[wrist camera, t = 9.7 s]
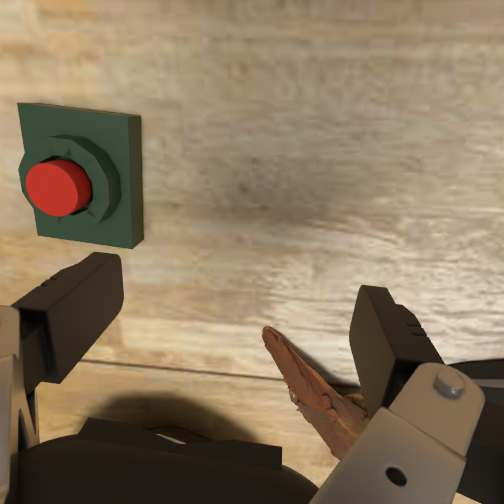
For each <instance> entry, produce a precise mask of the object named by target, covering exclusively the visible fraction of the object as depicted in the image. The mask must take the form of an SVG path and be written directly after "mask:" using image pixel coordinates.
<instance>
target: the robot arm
mask: <svg viewBox="0 0 504 504" xmlns="http://www.w3.org/2000/svg"><path fill="white" fill-rule="evenodd" d="M123 300H124V291H123V277H122V264H121V258H120V256H119V255H117V254H110V253H102V252H93V253H92V254H90V255H89V256H88V257H86V258H85V259H84V260H82V261H81V262H79V263H78V264H75V265H73V266H70V267H67V268H65V269H62V270H60V271H59V272H57V273H56V274H55V275H53V276H52V277H50V280H49V279H48V280H46V281H45V282H43V283H42V284H41V286H38V287H36V288H35V289H33V290H32V291H30V292H29V293H28V294H26V295H25V296H23V297H22V298H21V299H19V300H18V301H16V302H15V303H13V304H12V305H11V306H5V305H0V504H452V502H453V499H454V496H455V493H456V492H457V493H459V494H462V495H464V496H466V497H468V498H470V499H473V500H475V501H477V502H479V503H482V504H504V406H502V405H499V404H496V403H493V402H491V401H488V400H486V399H485V396H484V393H483V391H482V390H481V388H480V387H479V386H478V384H477V383H476V382H475V381H474V380H472V379H471V378H470V377H469V376H467V375H466V374H464V373H463V372H461V371H459V370H457V369H455V368H452V367H450V366H447V365H445V363H444V362H443V360H442V358H441V357H440V355H439V353H438V352H437V350H436V349H435V347H434V345H433V344H432V342H431V341H430V339H429V337H427V334H426V332H425V331H424V329H423V328H421V324H420V323H419V321H418V320H417V318H416V316H415V315H414V314H413V313H412V312H410V311H409V310H408V309H407V308H405V307H404V306H403V305H399V304H395V302H394V300H393V298H392V296H391V295H390V293H389V291H388V289H387V288H385V287H376V286H368V285H361V287H360V289H359V292H358V296H357V300H356V304H355V308H354V312H353V316H352V321H351V325H350V331H349V342H350V347H351V351H352V354H353V358H354V362H355V366H356V370H357V373H358V377H359V381H360V385H361V389H362V392H363V396H364V400H365V404H366V408H367V411H368V415H369V419H370V422H369V423H368V424H367V426H366V427H365V428H364V430H363V431H362V432H361V434H360V435H359V436H358V438H357V439H356V440H355V442H354V443H353V444H352V446H351V447H350V448H349V450H348V451H347V452H346V454H345V455H344V456H343V458H342V459H341V460H340V462H339V463H338V465H337V466H336V467H335V469H334V470H333V471H332V473H331V474H330V475H329V477H328V478H327V479H326V481H325V482H324V483H323V485H322V486H321V487H320V489H319V488H318V487H317V486H316V485H315V484H313V483H312V482H311V481H310V480H308V479H307V478H306V477H304V476H303V475H301V474H300V473H298V472H296V471H294V470H293V469H291V468H289V467H287V466H284V465H282V447H279V446H272V445H265V444H259V443H252V442H246V441H239V440H224V441H212V442H201V443H190V444H179V443H176V442H173V441H171V440H169V439H166V438H164V437H162V436H159V435H157V434H155V433H153V432H150V431H148V430H146V429H143V428H141V427H139V426H137V425H133V424H126V423H120V422H113V421H107V420H100V419H93V418H88V420H87V421H86V423H85V424H84V426H83V427H82V429H81V430H80V432H79V433H78V434H76V435H69V436H64V437H59V438H55V439H52V440H48V441H45V442H43V443H40V438H39V419H38V399H37V392H36V387H37V386H38V384H39V383H40V382H41V381H42V382H49V383H56V384H60V383H61V382H62V381H63V380H64V379H65V377H66V376H67V375H68V374H69V373H70V371H71V370H72V369H73V368H74V367H75V365H76V364H77V363H78V362H79V361H80V359H81V358H82V357H83V356H84V355H85V353H86V352H87V351H88V350H89V349H90V347H91V346H92V345H93V344H94V343H95V341H96V340H97V339H98V338H99V337H100V335H101V334H102V333H103V332H104V331H105V329H106V328H107V327H108V326H109V325H110V323H111V322H112V321H113V320H114V319H115V317H116V316H117V315H118V314H119V312H120V310H121V308H122V305H123Z"/></svg>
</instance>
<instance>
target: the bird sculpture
mask: <svg viewBox="0 0 504 504" xmlns="http://www.w3.org/2000/svg"><path fill="white" fill-rule="evenodd" d="M262 338H263V340H264V343H265V347H266V349H267V350H268V351H269V352H270V354H271V355H272V357H273V359H274V361H275V362H276V364H277V366H278V368H279V370H280V372H281V373H282V375H283V376H284V380H285V382H286V384H287V385H288V388H289V394H290V398H291V401H292V402H293V403H295V405H297V406H298V407H299V409H297V410H296V411H299V410H300V412H301V413H302V414H303V416H304V418H305V419H306V420H307V421H308V422H309V423H311V424H312V425H313V427H314V428H315V429H316V430H317V432H318V433H319V434H320V436H321V437H322V439H323V440H324V441H325V442H326V444H327V445H328V447H329V448H330V449H331V453H332V454H333V455H334V456H335V457H336V458H338V459H339V460H341V459H342V458H343V456H344V455H345V454H346V452H347V451H348V450H349V448H350V447H351V446H352V444H353V443H354V442H355V440H356V439H357V438H358V436H359V435H360V434H361V432H362V431H363V430H364V428H365V427H366V426H367V424H368V423H369V422H370V419H369V415H368V411H367V408H366V404H365V400H364V397H363V396H362V395H361V394H358V393H352V394H347V395H343V396H341V395H340V394H338V393H337V392H336V391H335V390H334V389H333V388H332V387H330V386H329V385H328V384H327V383H326V382H325V380H324V379H323V378H322V377H321V376H320V375H319V374H318V373H317V372H316V371H315V370H313V369H312V368H311V367H310V366H308V365H307V364H306V363H305V362H304V360H303V359H302V358H300V357H299V356H298V355H297V354H296V352H295V351H294V350H293V349H292V348H291V347H290V346H288V344H287V343H286V342H285V341H284V340H283V338H282V337H281V336H280V335H279V334H277V333H276V332H275V331H274V330H273V329H271V328H269V327H265V328H264V329H263V335H262ZM293 394H295V397H294V398H293Z"/></svg>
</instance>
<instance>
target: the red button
mask: <svg viewBox="0 0 504 504" xmlns="http://www.w3.org/2000/svg"><path fill="white" fill-rule="evenodd" d="M26 188H27V192H28V195H29V197H30V199H31V200H32V202H33V203H34V204H35V205H36V206H37V207H38V208H39V209H40V210H41V211H43V212H45V213H47V214H49V215H52V216H65V215H68V214H70V213H72V212H74V211H76V210H78V209H80V208H82V207H84V206H85V205H86V204H87V203H88V202H89V200H90V197H91V192H92V191H91V183H90V180H89V178H88V176H87V175H86V173H85V172H84V171H83V169H81V168H80V167H79V166H78V165H77V164H75V163H73V162H71V161H68V160H63V159H60V160H54V161H49V162H45V163H41V164H37V165H35V166H34V167H32V168H31V170H30V171H29V172H28V174H27V177H26Z"/></svg>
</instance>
